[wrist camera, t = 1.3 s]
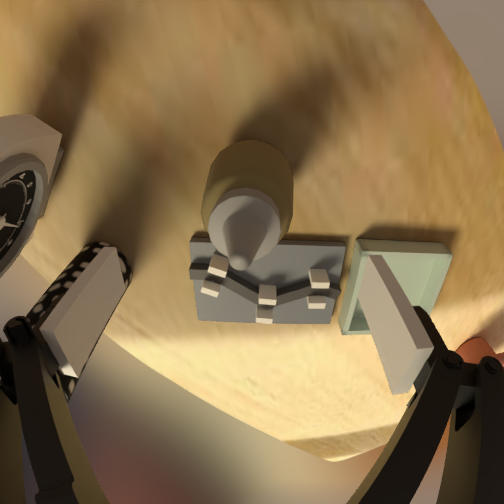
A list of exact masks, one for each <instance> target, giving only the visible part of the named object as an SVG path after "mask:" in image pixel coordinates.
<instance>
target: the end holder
mask: <svg viewBox="0 0 504 504" xmlns="http://www.w3.org/2000/svg"><path fill="white" fill-rule="evenodd" d="M368 254H372V255H382V256H383V258H384V260H385V261H386V263H387V264H388V266H389V268H390V269H391V271H392V273H393V274H394V276H395V277H396V279H397V281H398V282H399V284H400V286H401V288H402V289H403V291H404V293H405V294H406V296H407V298H408V300H409V301H410V303H411V305H412V306H420V307H422V308H423V309H424V310H425V311H426V312H427V313H428V315H429V316H430V313H431V311H432V309H433V306H434V304H435V302H436V299H437V297H438V294H439V292H440V289H441V287H442V284H443V282H444V279H445V276H446V273H447V271H448V268H449V265H450V262H451V259H452V256H453V254H452V252H451V251H450V250H449V249H448V248H447V247H446V246H445V245H444V244H443V243H434V242H415V241H395V240H373V239H356V241H355V247H354V252H353V257H352V262H351V267H350V271H349V276H348V280H347V285H346V289H345V294H344V298H343V302H342V306H341V310H340V314H339V318H338V322H339V326H340V330H341V334H342V335H362V334H371V331H370V328H369V326H368V323H367V320H366V318H365V315H364V312H363V310H362V307H361V304H360V302H359V299H358V295H359V291H360V287H361V283H362V279H363V275H364V270H365V266H366V262H367V257H368Z"/></svg>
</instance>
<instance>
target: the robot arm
mask: <svg viewBox="0 0 504 504" xmlns="http://www.w3.org/2000/svg"><path fill="white" fill-rule="evenodd" d="M125 290H126V288H125V284H124V280H123V276H122V272H121V267H120V263H119V259H118V254H117V249H116V247H103V249H102V250H101V251H100V252H99V253H98V254H97V256H96V257H95V258H94V259H93V260H92V261H91V263H90V264H89V265H88V266H87V267H86V269H85V270H84V271H83V272H82V273H81V275H80V276H79V277H78V278H77V280H76V281H75V282H74V283H73V285H72V286H71V287H70V288H69V290H68V291H67V292H66V293H62V294H61V295H59V296H58V297H57V298H55V299H54V300H53V302H52V303H51V304H50V306H49V307H48V308H47V310H46V311H45V313H44V314H43V315H42V316H41V318H40V319H39V320H38V322H37V323H36V324H35V326H34V327H33V328H32V327H31V325H30V323H29V321H28V319H27V318H26V317H24V316H17V317H14V318H12V319H10V320H9V321H8V322H7V323H6V325H5V326H4V329H3V331H4V333H5V335H6V337H7V339H8V340H9V342H2V340H1V338H0V504H26V498H25V490H24V478H23V462H22V430H23V434H24V439H25V443H26V446H27V451H28V455H29V458H30V462H31V465H32V469H33V472H34V475H35V478H36V482H37V485H38V488H39V492H38V493H37V494H35V501H36V504H110V503H109V502H108V500H107V498H106V496H105V495H104V493H103V490H102V489H101V487H100V485H99V483H98V480H97V478H96V477H95V474H94V472H93V470H92V468H91V465H90V463H89V461H88V459H87V456H86V454H85V452H84V449H83V447H82V444H81V442H80V439H79V437H78V434H77V431H76V429H75V426H74V423H73V420H72V418H71V415H70V412H69V409H68V406H67V402H66V399H65V396H64V393H63V389H62V386H61V382H60V379H59V376H58V374H57V372H56V371H57V369H58V367H59V366H60V368H61V369H62V371H63V373H64V374H65V375H69V376H73V377H77V378H78V376H79V374H80V372H81V370H82V368H83V366H84V364H85V362H86V360H87V358H88V356H89V355H90V353H91V351H92V349H93V347H94V345H95V343H96V341H97V339H98V338H99V336H100V334H101V332H102V330H103V328H104V327H105V325H106V323H107V321H108V319H109V318H110V316H111V314H112V312H113V311H114V309H115V307H116V305H117V304H118V302H119V300H120V298H121V297H122V295H123V293H124V292H125ZM358 299H359V302H360V304H361V307H362V310H363V312H364V315H365V318H366V320H367V323H368V326H369V328H370V331H371V334H372V337H373V339H374V342H375V345H376V348H377V351H378V353H379V356H380V359H381V362H382V365H383V368H384V371H385V374H386V377H387V380H388V383H389V387H390V390H391V393H392V395H394V394H401V393H408V392H409V390H410V388H411V387H412V385H413V384H414V387H415V389H416V392H415V394H414V395H413V397H412V398H411V400H410V401H409V402H408V404H407V406H408V407H407V409H406V411H405V413H404V415H403V417H402V418H401V420H400V422H399V424H398V426H397V428H396V429H395V431H394V433H393V435H392V436H391V438H390V440H389V442H388V443H387V445H386V447H385V448H384V450H383V452H382V453H381V455H380V456H379V458H378V460H377V461H376V463H375V464H374V466H373V467H372V469H371V470H370V472H369V473H368V475H367V476H366V478H365V479H364V481H363V482H362V483H361V485H360V486H359V488H358V489H357V490H356V492H355V493H354V494H353V496H352V497H351V498H350V500H349V501H348V502H347V504H409V503H410V502H411V500H412V498H413V496H414V494H415V493H416V491H417V489H418V487H419V485H420V483H421V481H422V479H423V477H424V475H425V473H426V471H427V469H428V467H429V465H430V463H431V461H432V459H433V456H434V454H435V452H436V450H437V447H438V445H439V443H440V440H441V438H442V435H443V433H444V430H445V428H446V425H447V422H448V420H449V417H450V414H451V421H450V430H449V439H448V447H447V453H446V459H445V466H444V471H443V476H442V482H441V485H440V490H439V495H438V499H437V503H436V504H504V369H503V366H502V364H501V363H500V361H499V360H497V359H496V358H494V357H492V356H485V357H483V358H482V359H481V360H480V362H479V363H478V364H474V363H467V362H464V360H463V358H462V357H461V356H460V355H459V354H458V353H456V352H454V351H451V350H448V349H447V347H446V345H445V343H444V341H443V339H442V338H441V336H440V334H439V332H438V330H437V329H436V328H435V325H434V323H433V322H432V320H431V318H430V316H429V315H428V313H427V312H426V311H425V310H424V309H423V308H422V307H420V306H412V305H411V303H410V301H409V300H408V298H407V296H406V294H405V293H404V291H403V289H402V288H401V286H400V284H399V282H398V281H397V279H396V277H395V276H394V274H393V273H392V271H391V269H390V268H389V266H388V264H387V263H386V261H385V260H384V258H383V256H382V255H372V254H368V257H367V262H366V266H365V270H364V275H363V279H362V283H361V287H360V291H359V295H358Z"/></svg>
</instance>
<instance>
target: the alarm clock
mask: <svg viewBox="0 0 504 504" xmlns="http://www.w3.org/2000/svg"><path fill="white" fill-rule="evenodd" d="M61 138H62V134H61V133H60V132H58V131H57V130H55V129H53V128H52V127H50V126H49V125H47V124H46V123H44V122H43V121H41V120H39V119H38V118H36V117H35V116H33V115H10V116H3V117H0V278H1V277H2V276H3V275H4V273H5V272H6V271H7V270H8V269H9V268H10V266H11V265H12V264H13V262H14V261H15V260H16V258H17V257H18V256H19V254H20V252H21V251H22V249H23V248H24V246H25V245H26V244H27V243H28V242H29V241H30V240H31V239H32V236H33V233H34V230H35V227H36V223H37V221H38V219H39V218H40V217H42V216H43V215H44V212H45V208H46V205H47V201H48V198H49V194H50V191H51V188H52V184H53V181H54V178H55V175H56V172H57V169H58V166H59V164H60V161H61V158H62V155H63V152H64V149H63V148H61V147H60V146H59V145H60V141H61Z"/></svg>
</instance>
